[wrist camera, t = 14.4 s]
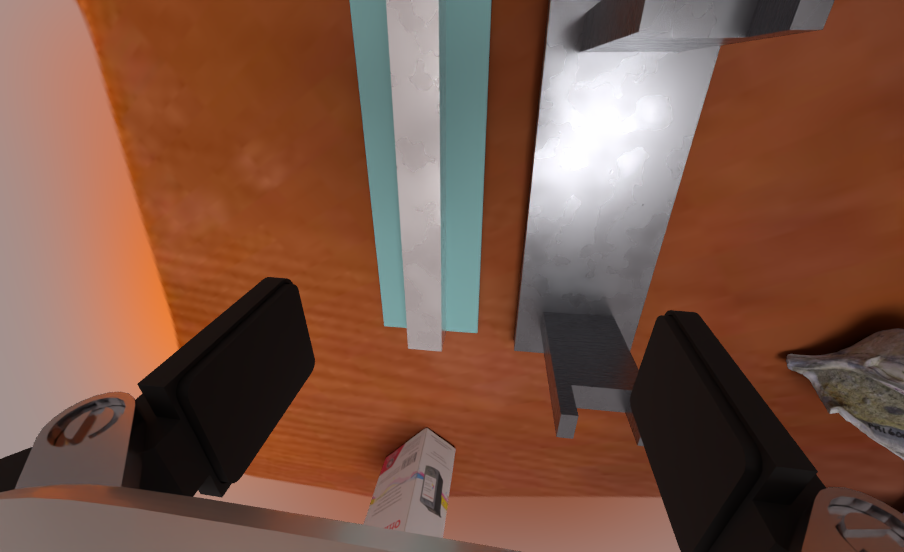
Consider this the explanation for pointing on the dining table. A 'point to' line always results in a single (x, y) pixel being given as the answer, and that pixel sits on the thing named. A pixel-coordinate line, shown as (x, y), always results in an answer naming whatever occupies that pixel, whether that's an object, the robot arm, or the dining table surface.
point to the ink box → (414, 487)
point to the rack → (616, 174)
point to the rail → (421, 161)
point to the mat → (463, 153)
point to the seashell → (863, 385)
